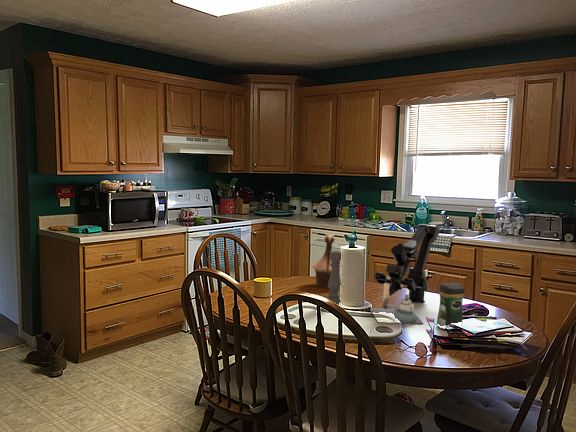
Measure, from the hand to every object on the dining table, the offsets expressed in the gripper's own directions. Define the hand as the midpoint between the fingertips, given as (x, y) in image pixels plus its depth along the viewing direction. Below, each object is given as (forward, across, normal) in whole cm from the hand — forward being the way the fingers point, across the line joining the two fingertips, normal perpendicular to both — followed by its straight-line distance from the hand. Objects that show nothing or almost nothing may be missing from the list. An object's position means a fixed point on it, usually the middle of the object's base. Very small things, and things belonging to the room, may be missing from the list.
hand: (387, 296), depth 216 cm
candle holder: (+10, -24, +2) cm, 26 cm away
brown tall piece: (-8, -47, +20) cm, 52 cm away
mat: (+6, +5, +5) cm, 9 cm away
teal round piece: (+7, +10, +4) cm, 13 cm away
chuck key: (+5, +6, +2) cm, 8 cm away
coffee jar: (+4, +28, +7) cm, 29 cm away
